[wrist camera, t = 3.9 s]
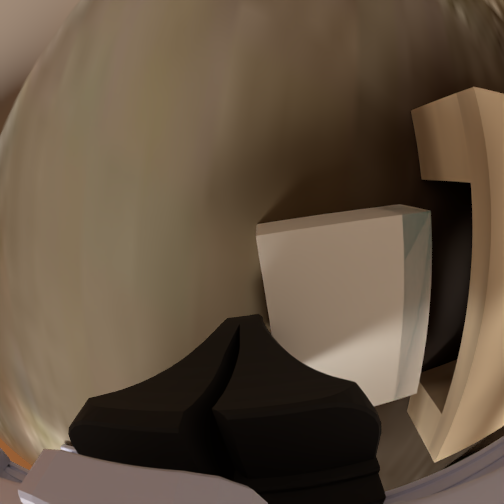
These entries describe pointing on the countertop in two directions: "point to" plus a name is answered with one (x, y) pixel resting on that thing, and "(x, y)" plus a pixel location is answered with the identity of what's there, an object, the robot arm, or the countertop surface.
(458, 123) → the tan rectangular block
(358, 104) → the countertop surface
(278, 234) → the white block
